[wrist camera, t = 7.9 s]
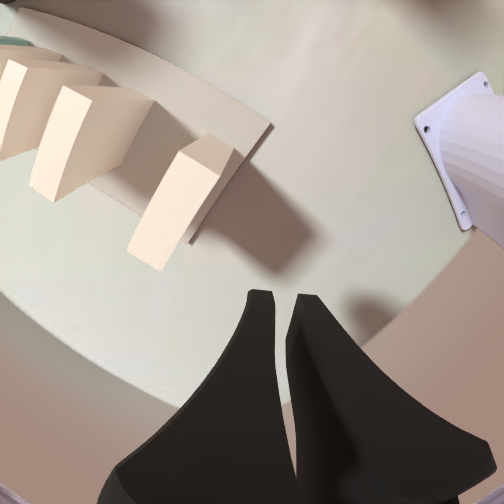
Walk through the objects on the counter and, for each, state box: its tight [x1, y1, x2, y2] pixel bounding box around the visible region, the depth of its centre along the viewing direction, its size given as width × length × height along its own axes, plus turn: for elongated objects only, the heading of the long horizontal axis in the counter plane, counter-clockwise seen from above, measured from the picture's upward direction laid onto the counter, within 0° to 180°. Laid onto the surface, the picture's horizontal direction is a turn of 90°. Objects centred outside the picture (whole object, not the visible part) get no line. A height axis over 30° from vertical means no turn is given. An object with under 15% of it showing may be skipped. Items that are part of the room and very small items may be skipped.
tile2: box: [29, 85, 155, 203], centre depth 11 cm, size 2×4×7 cm, turn 145°
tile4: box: [0, 45, 62, 81], centre depth 9 cm, size 2×4×7 cm, turn 145°
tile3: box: [0, 59, 104, 161], centre depth 10 cm, size 2×4×7 cm, turn 145°
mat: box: [5, 7, 270, 244], centre depth 14 cm, size 22×9×1 cm, turn 55°
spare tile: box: [126, 133, 234, 271], centre depth 13 cm, size 2×4×7 cm, turn 146°
